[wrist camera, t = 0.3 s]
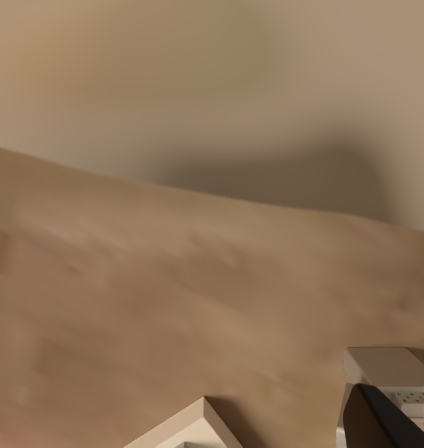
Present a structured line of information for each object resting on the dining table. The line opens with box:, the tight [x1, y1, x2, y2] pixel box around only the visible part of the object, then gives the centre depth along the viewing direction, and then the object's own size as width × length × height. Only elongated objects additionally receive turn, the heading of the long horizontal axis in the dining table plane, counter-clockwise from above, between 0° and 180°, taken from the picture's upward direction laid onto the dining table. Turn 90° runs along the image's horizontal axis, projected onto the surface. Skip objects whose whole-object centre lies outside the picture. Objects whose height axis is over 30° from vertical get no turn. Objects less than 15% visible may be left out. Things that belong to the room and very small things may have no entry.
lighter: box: [336, 347, 424, 448], centre depth 21 cm, size 7×2×8 cm, turn 90°
